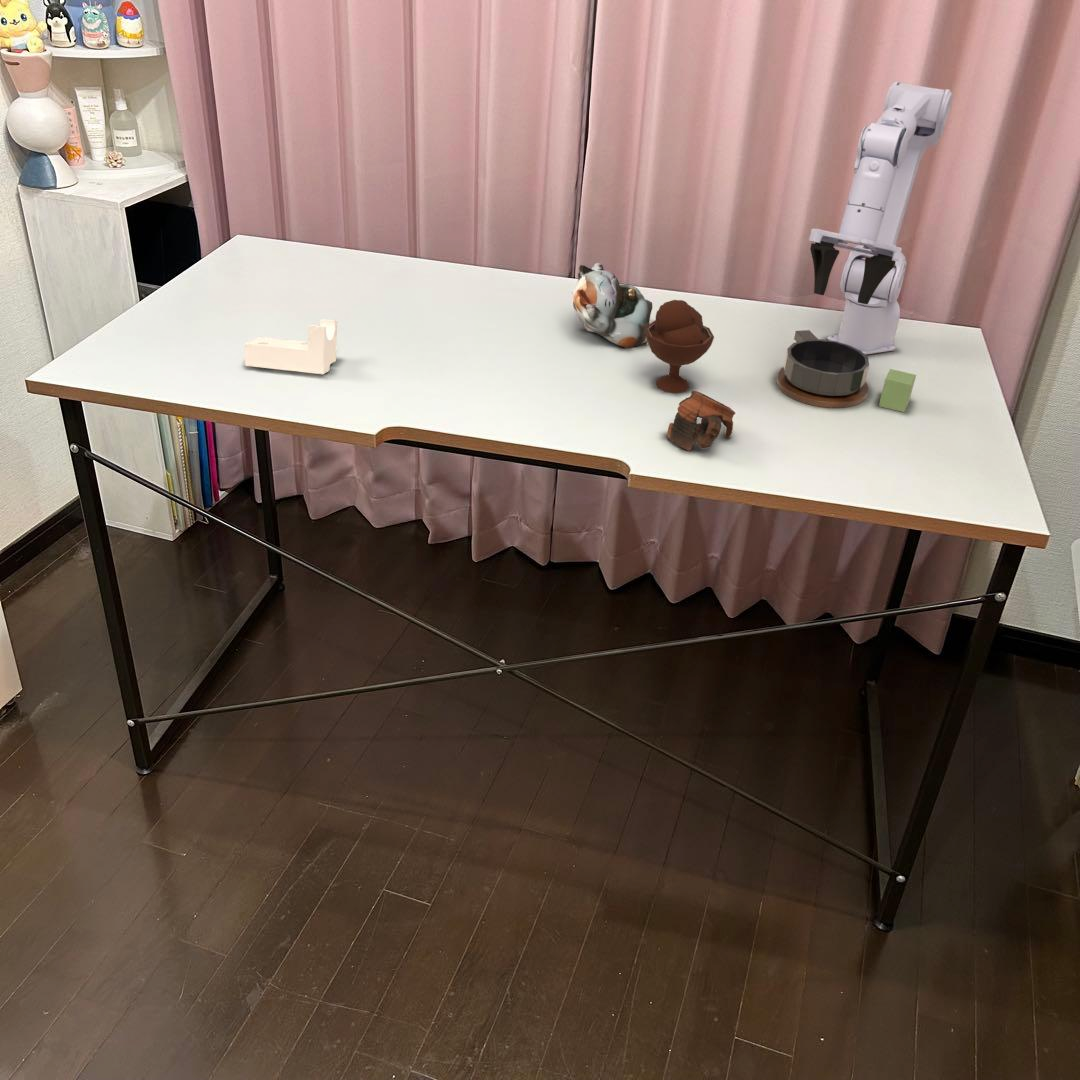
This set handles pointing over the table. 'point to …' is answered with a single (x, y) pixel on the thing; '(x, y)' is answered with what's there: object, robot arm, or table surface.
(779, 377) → the lazy susan
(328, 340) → the bracket
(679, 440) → the pottery mug
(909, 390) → the block
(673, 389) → the ice cream bowl
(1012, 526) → the table surface
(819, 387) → the grey frying pan
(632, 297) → the lucky cat figurine
